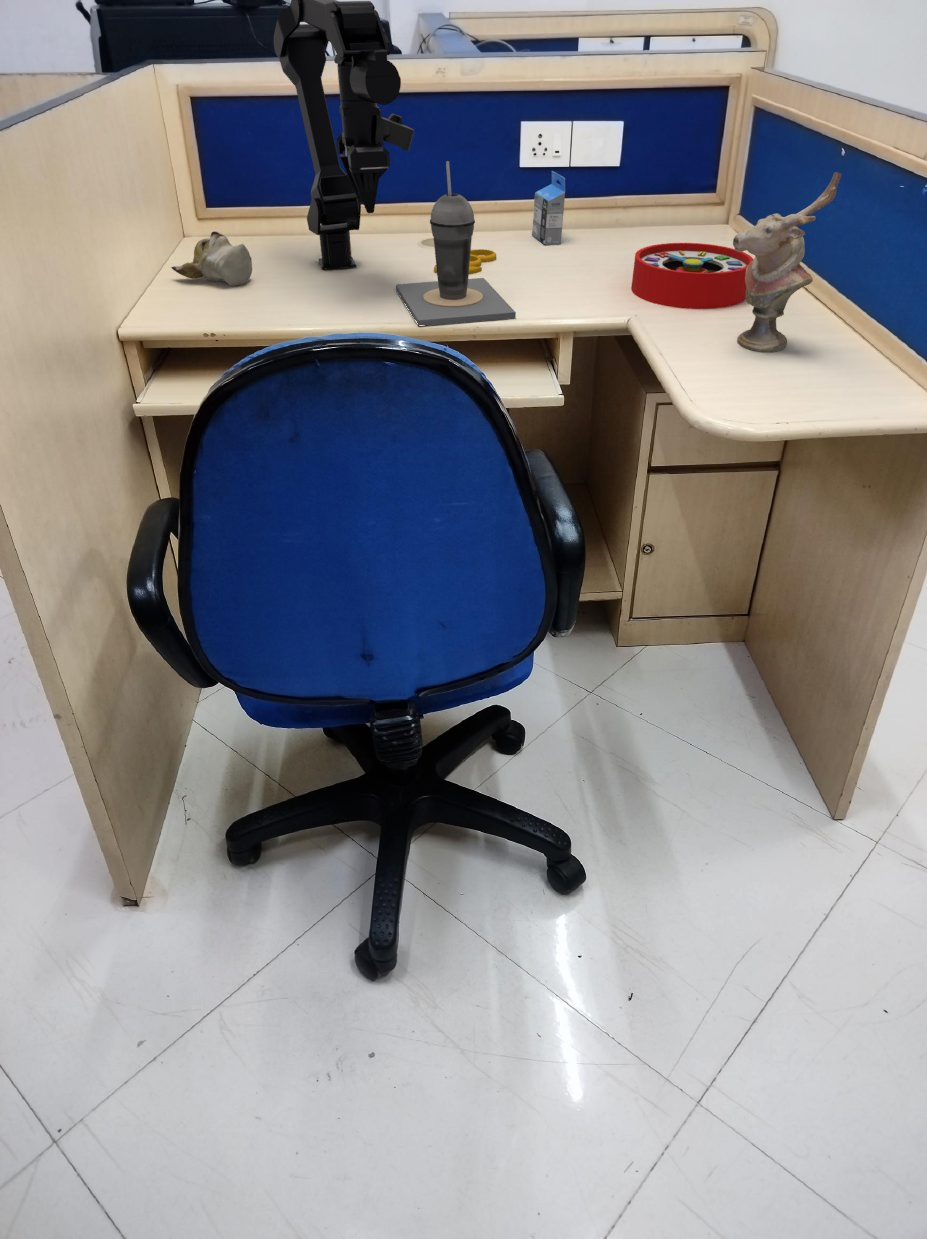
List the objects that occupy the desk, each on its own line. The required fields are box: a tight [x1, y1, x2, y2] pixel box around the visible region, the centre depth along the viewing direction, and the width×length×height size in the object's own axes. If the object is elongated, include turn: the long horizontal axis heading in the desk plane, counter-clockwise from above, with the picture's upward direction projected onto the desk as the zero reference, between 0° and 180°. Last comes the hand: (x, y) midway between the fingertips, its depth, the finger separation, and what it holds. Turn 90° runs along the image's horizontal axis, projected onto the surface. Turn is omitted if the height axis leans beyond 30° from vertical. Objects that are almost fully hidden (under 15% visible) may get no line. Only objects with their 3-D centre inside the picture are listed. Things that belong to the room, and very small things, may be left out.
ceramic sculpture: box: [171, 231, 253, 287], centre depth 152 cm, size 11×9×15 cm
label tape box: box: [531, 170, 566, 246], centre depth 173 cm, size 9×4×12 cm, turn 14°
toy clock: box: [630, 242, 754, 310], centre depth 146 cm, size 20×6×20 cm
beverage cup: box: [429, 160, 476, 300], centre depth 136 cm, size 7×7×20 cm
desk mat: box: [395, 277, 517, 327], centre depth 142 cm, size 20×16×1 cm
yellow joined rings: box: [433, 249, 497, 275], centre depth 162 cm, size 17×2×10 cm
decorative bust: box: [732, 171, 843, 353], centre depth 119 cm, size 11×12×24 cm
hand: (366, 207), depth 142 cm, fingers open, 9 cm apart
